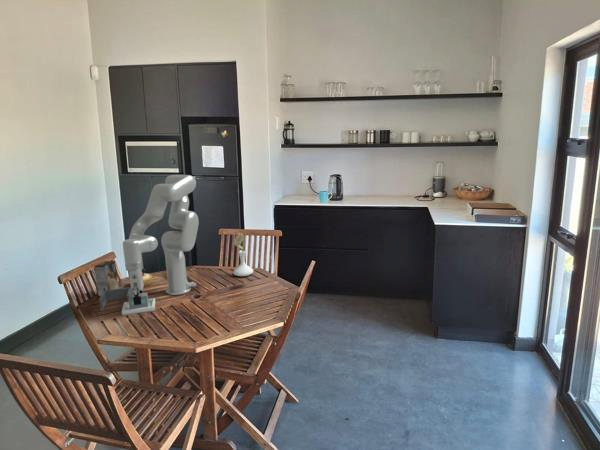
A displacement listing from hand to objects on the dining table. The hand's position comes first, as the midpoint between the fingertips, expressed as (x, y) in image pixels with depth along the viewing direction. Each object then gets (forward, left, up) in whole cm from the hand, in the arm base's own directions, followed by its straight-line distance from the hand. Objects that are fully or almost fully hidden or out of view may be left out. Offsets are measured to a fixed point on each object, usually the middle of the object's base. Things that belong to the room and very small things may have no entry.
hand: (138, 300), depth 209 cm
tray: (0, 0, -4) cm, 4 cm away
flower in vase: (-54, -31, -4) cm, 62 cm away
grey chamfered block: (0, 0, -3) cm, 3 cm away
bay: (+11, -12, -4) cm, 17 cm away
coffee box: (+17, -30, -4) cm, 35 cm away
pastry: (+1, -37, -4) cm, 37 cm away
